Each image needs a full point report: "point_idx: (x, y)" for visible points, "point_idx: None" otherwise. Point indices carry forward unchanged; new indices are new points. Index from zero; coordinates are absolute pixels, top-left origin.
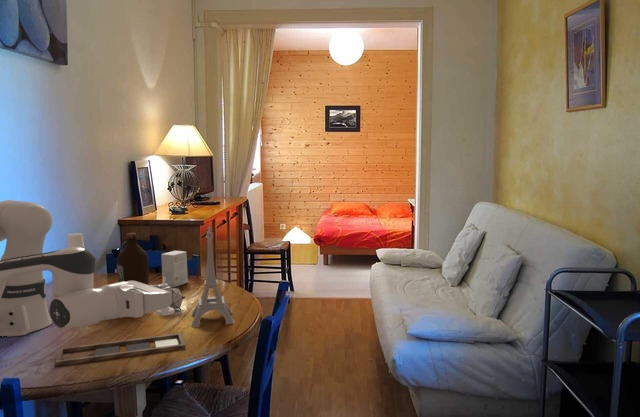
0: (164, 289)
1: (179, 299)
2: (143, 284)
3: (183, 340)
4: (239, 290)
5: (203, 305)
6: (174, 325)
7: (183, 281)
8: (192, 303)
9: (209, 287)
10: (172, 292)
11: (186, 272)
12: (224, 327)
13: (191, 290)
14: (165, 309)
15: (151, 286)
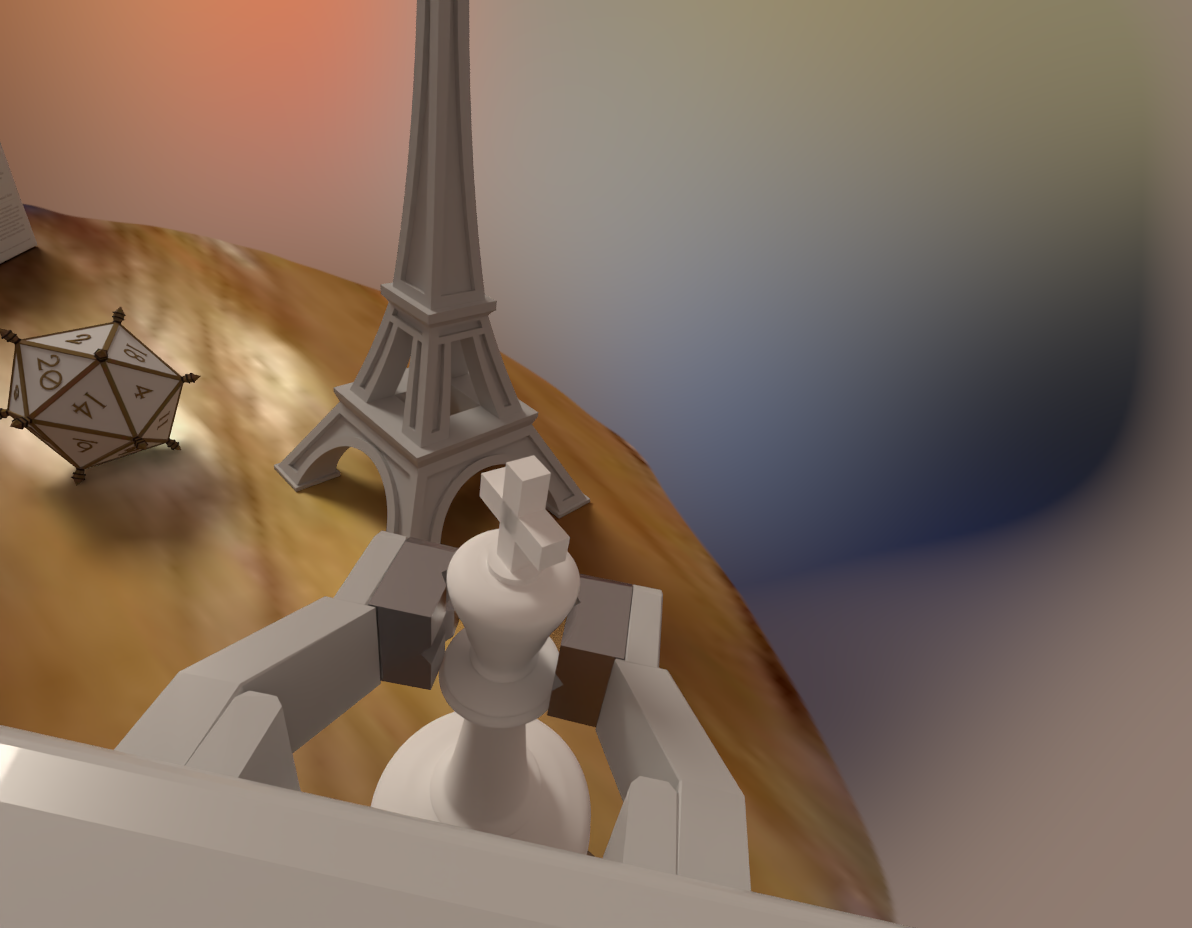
0: (711, 749)
1: (165, 398)
2: (76, 852)
3: (588, 853)
4: (340, 280)
5: (440, 454)
6: (272, 619)
7: (15, 241)
8: (197, 381)
9: (451, 335)
10: (103, 365)
11: (15, 195)
12: (587, 549)
13: (103, 291)
14: (524, 829)
15: (495, 903)
